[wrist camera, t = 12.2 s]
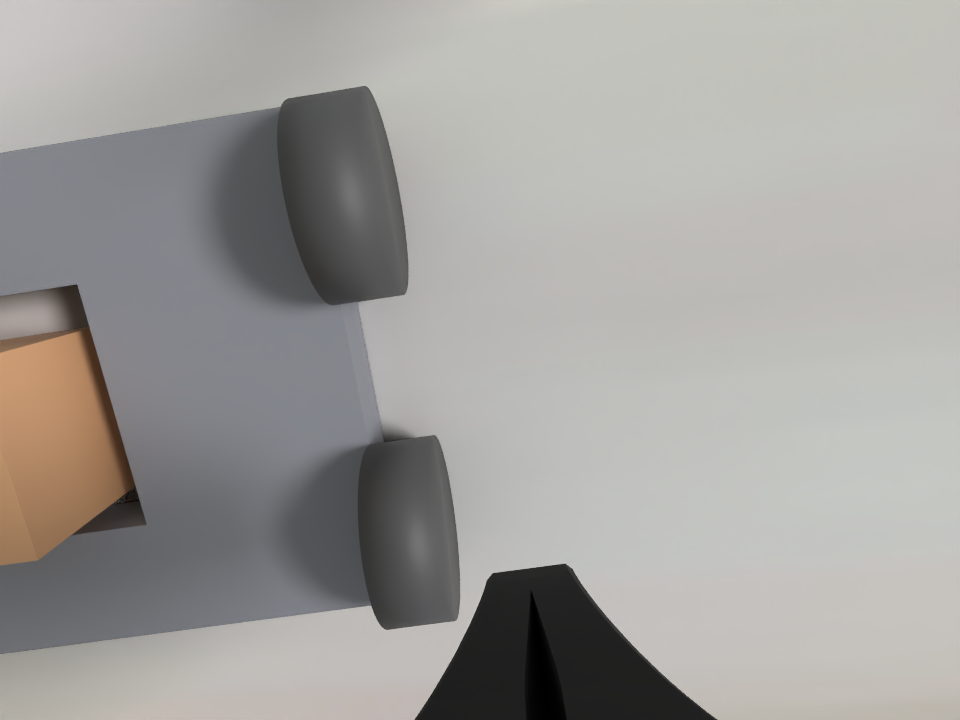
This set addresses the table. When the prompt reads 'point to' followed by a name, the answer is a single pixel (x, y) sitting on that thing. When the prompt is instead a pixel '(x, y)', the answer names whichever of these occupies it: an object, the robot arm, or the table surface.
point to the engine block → (55, 442)
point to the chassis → (231, 376)
